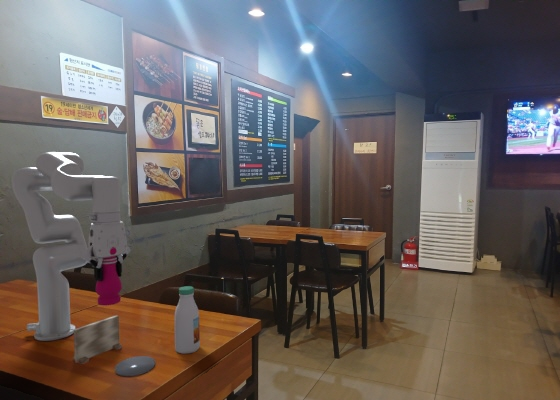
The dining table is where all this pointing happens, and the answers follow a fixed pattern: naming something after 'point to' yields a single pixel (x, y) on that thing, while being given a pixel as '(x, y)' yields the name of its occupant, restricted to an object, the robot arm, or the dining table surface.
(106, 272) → the pepper mill
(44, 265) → the robot arm
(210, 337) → the dining table surface
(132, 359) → the coaster
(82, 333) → the screen
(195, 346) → the milk bottle
